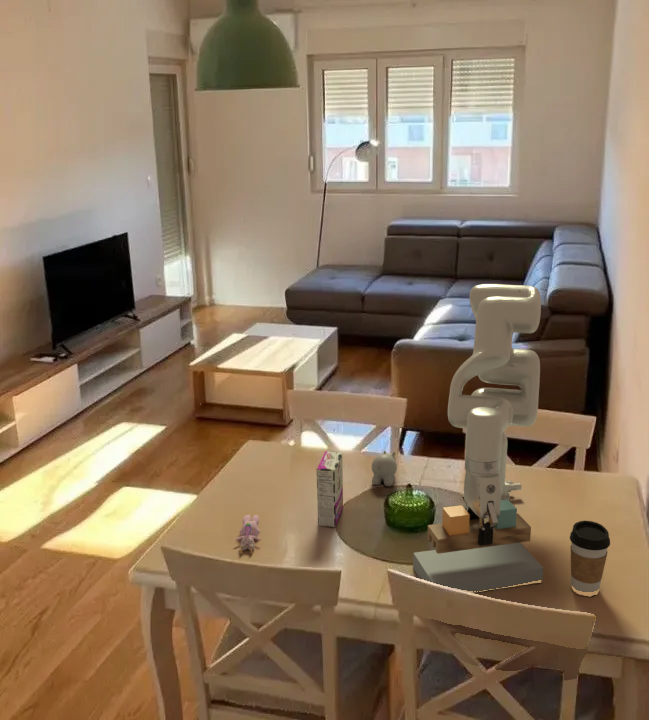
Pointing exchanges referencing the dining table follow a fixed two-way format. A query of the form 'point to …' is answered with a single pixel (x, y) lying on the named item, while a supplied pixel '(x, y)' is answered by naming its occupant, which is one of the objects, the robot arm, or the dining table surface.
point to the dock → (479, 567)
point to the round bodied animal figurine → (384, 469)
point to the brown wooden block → (470, 539)
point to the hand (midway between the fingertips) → (478, 535)
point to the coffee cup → (588, 555)
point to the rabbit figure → (249, 533)
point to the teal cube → (506, 515)
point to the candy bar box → (330, 489)
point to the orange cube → (455, 520)
